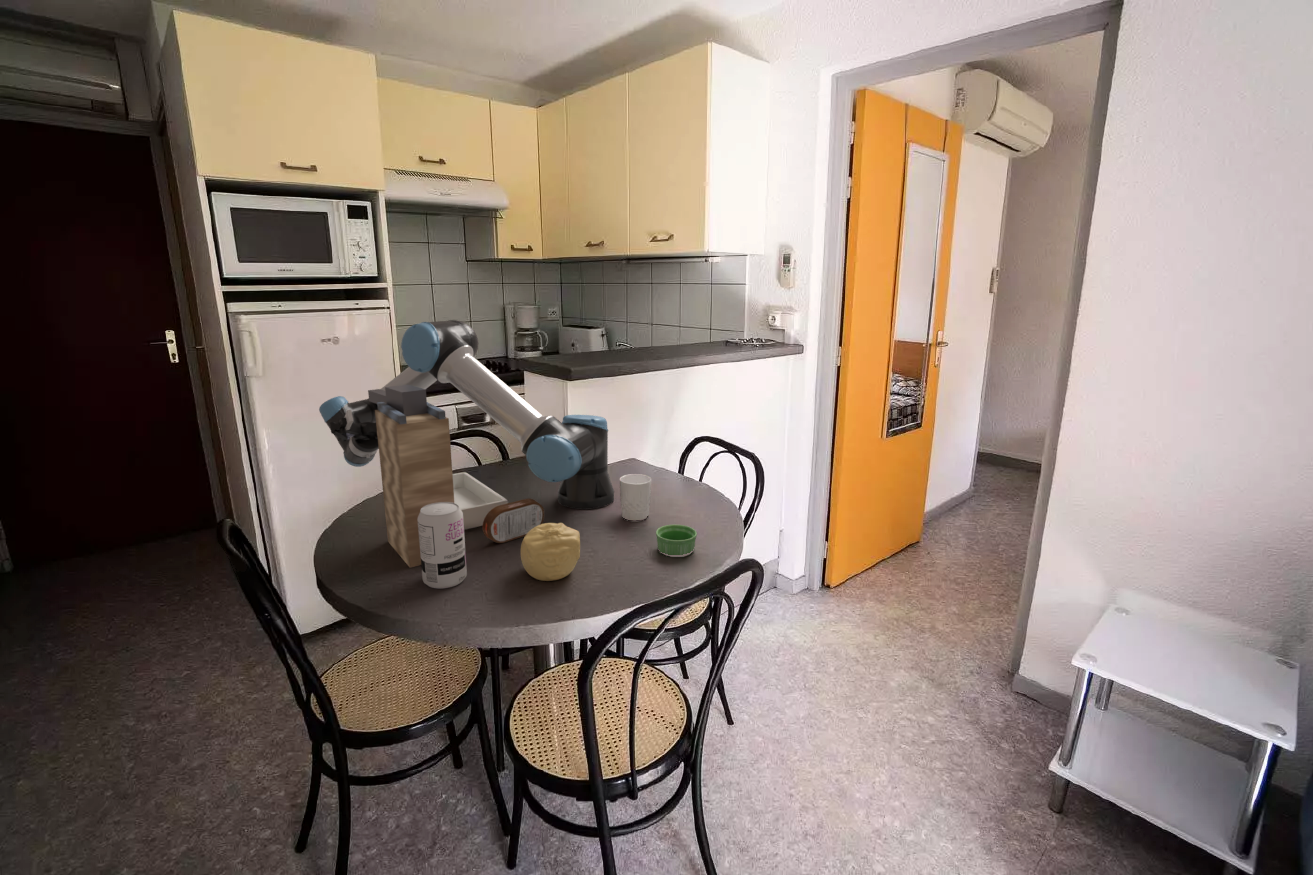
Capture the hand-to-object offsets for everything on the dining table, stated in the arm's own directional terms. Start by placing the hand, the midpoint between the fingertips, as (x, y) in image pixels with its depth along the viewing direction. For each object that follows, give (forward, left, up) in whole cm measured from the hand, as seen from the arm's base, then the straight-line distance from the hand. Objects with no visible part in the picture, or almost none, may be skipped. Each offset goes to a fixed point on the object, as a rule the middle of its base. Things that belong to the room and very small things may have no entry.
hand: (381, 411), depth 145 cm
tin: (-34, +7, -27) cm, 44 cm away
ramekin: (-71, +8, -27) cm, 77 cm away
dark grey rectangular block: (-9, +10, +4) cm, 14 cm away
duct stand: (-16, +16, -26) cm, 35 cm away
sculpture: (-47, +23, -27) cm, 59 cm away
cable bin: (-14, -8, -26) cm, 31 cm away
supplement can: (-28, +29, -27) cm, 48 cm away
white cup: (-59, -10, -27) cm, 66 cm away
